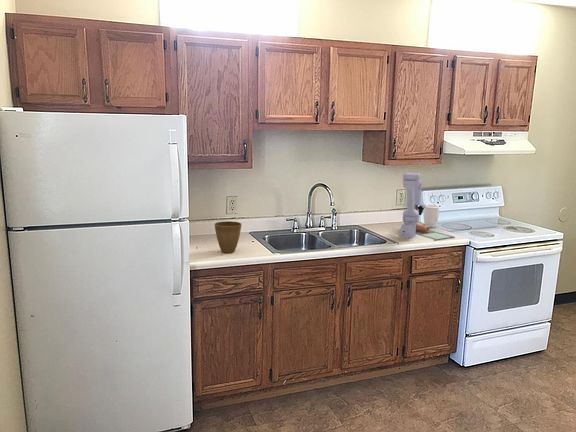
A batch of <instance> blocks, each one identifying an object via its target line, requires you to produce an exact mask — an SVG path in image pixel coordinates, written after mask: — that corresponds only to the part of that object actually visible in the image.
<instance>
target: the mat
mask: <svg viewBox="0 0 576 432" xmlns="http://www.w3.org/2000/svg"><path fill="white" fill-rule="evenodd" d="M415 235H416V236H421V237H425V238H427V239H432V240H433V241H434V242H435V241H442V240H448V239H455V236H453V235H449V234H445V233H443V232H439V231H435V230H431V229H429V233H421V232H418V231H416V233H415Z"/></svg>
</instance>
